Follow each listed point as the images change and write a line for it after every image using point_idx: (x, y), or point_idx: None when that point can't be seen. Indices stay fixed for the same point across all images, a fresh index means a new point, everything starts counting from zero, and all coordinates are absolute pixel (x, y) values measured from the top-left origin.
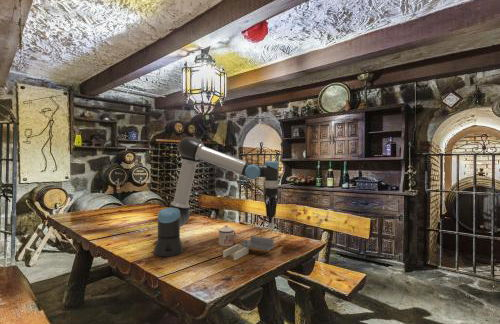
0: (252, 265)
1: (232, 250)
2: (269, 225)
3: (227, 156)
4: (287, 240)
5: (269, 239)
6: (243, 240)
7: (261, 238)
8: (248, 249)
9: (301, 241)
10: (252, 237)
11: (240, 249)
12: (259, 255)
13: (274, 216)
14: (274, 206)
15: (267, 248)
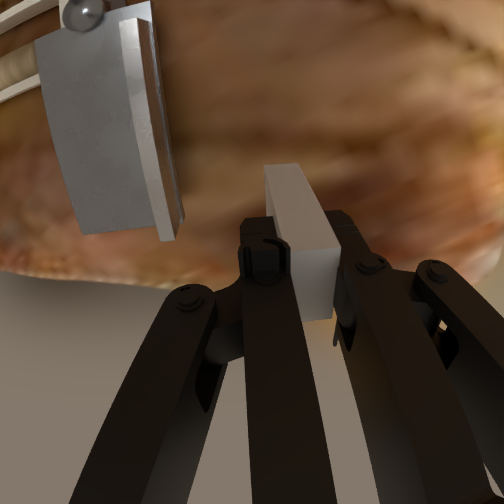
0: (3, 205)
1: (15, 20)
2: (268, 194)
3: None
4: (470, 152)
5: (153, 212)
6: (72, 7)
7: (137, 135)
8: None
9: (473, 220)
10: (125, 40)
11: (19, 66)
12: None
13: (335, 334)
14: (491, 445)
15: (88, 228)
